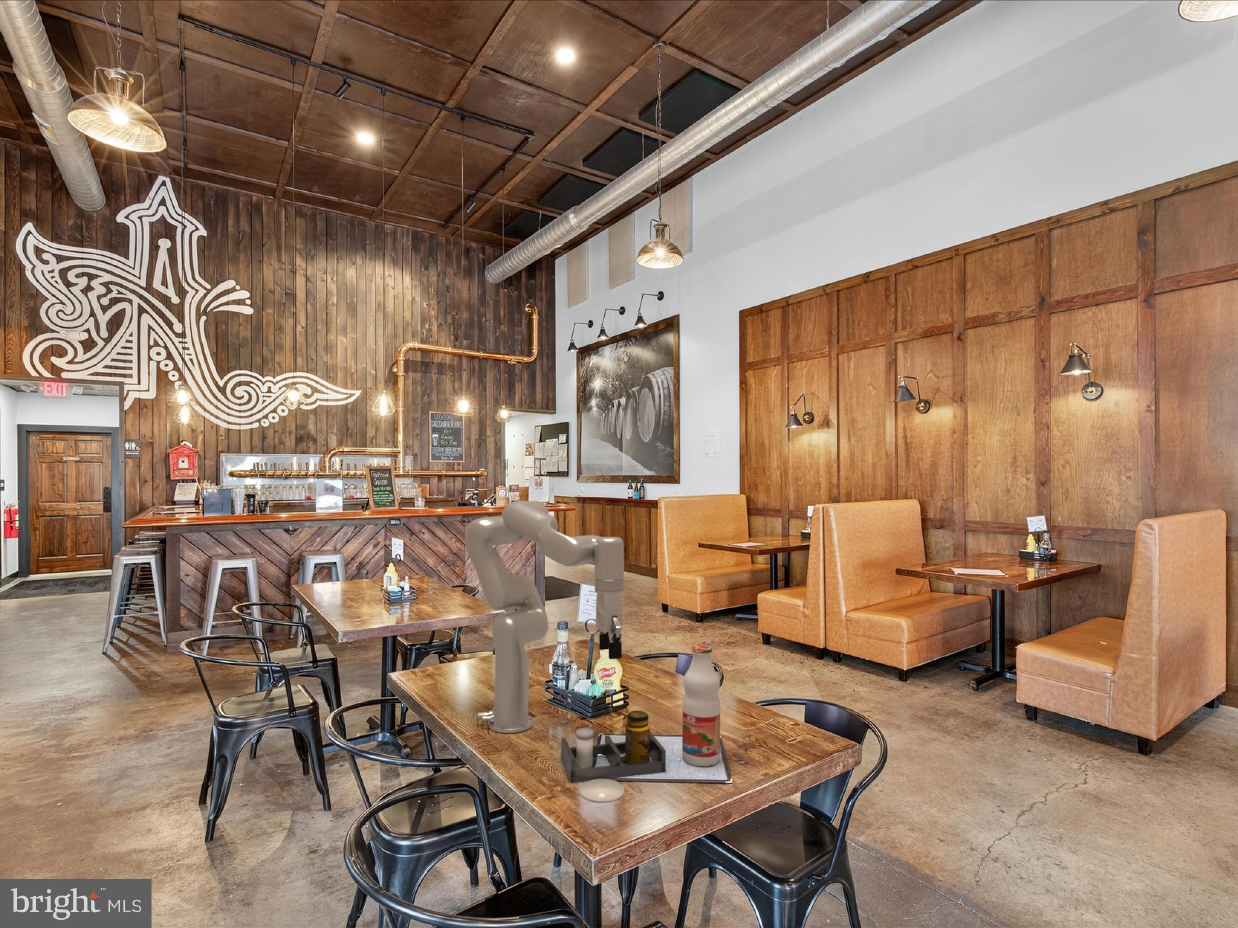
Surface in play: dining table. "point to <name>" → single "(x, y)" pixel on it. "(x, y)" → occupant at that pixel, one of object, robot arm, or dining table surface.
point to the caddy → (613, 761)
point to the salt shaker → (584, 748)
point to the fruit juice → (701, 710)
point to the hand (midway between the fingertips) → (610, 653)
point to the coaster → (601, 790)
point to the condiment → (637, 738)
